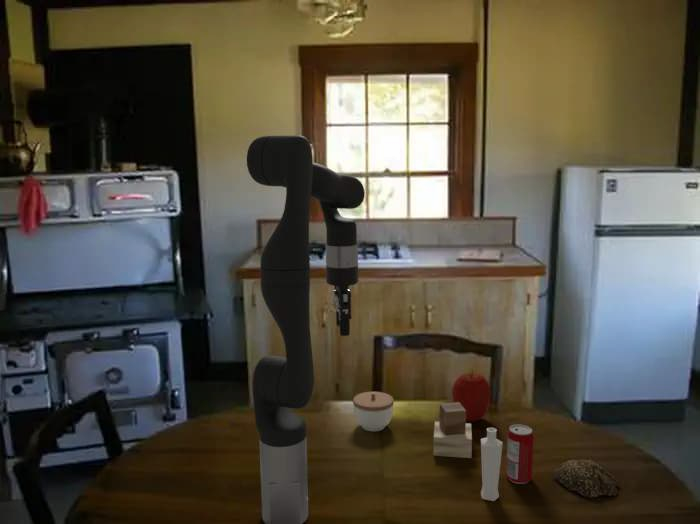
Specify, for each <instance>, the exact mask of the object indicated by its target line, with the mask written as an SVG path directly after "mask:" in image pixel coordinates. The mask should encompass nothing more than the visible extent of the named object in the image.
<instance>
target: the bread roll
mask: <svg viewBox="0 0 700 524" xmlns="http://www.w3.org/2000/svg"><path fill="white" fill-rule="evenodd" d="M553 478H554V480H556V481H557V483H558V484H560V485H562V486H563V487H564V488H566V489H567V490H569V491H571V492H575V493H577V494H579V495H581V496H583V497H585V498H586V497H587V498H591V499H593V498H594V499H595V498H597V497H598V498H599V497H601V496H608V497H616V495H617V494H618V489H617V487H618V486H619V480H618V479H616V477H614V476H613V475H612V474H610V472H609V471H607V470H605V469H604V468H603V467H602V466H600V465H599V464H598V463H597V462H595V461H593V460H592V459H578V460H577V459H571V460H568V461H566V462H563V463H560V465H559V466H557V467H556V468H555V469H554V471H553Z"/></svg>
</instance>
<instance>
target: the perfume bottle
mask: <svg viewBox="0 0 700 524" xmlns="http://www.w3.org/2000/svg"><path fill="white" fill-rule="evenodd" d="M497 431H498V430H497V428H495V427H487V428H486V437H483V438H480V455H481V478H482V482H481V483H482V487H481V491H480V496H481V499H482V500H486V501H491V502H495V501H496V500H497V499H499V497H500V495H499V481H500V480H499V479H500V478H499V477H500V471H501V461H502V454H503V446H504V445H503V444H504V443H503V441H501V440H500V439H498V438H497Z"/></svg>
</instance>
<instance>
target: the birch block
mask: <svg viewBox="0 0 700 524" xmlns="http://www.w3.org/2000/svg"><path fill="white" fill-rule="evenodd" d="M433 427H434V428H433V448H432V449H433V456H436V457H450V458H464V459H465V458H466V459H472V450H473V447H472V445H473V436H472V435H473V433H472V432H473V431H472V423H471V422H469V423H468V422H466V428H465V434H456V435H445V434H444V433H443V431H442V430H441V428H440V426H439V420H438V421H437V420H435V421H434V426H433Z"/></svg>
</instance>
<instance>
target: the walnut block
mask: <svg viewBox="0 0 700 524" xmlns="http://www.w3.org/2000/svg"><path fill="white" fill-rule="evenodd" d="M438 422H439V426H440V428H441V430H442V431H443V433H444V434H445V435H456V434H465V428H466V423H467V421H466V410H465V409H464V407H463V406H462V405H461V404H460V402H455V403H454V402H444V403H442V402H441V403H439V420H438Z"/></svg>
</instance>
